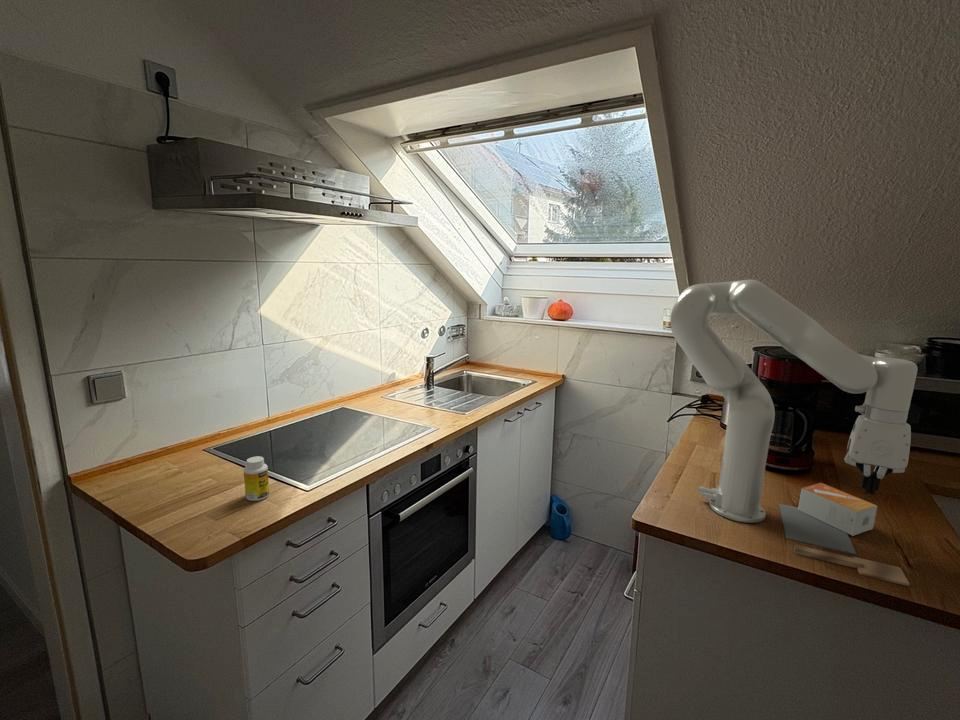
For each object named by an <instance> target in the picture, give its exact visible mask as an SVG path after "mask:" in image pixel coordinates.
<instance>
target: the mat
mask: <svg viewBox="0 0 960 720" xmlns="http://www.w3.org/2000/svg"><path fill="white" fill-rule="evenodd" d="M778 507H779V510H780V511H779V512H780V516H781V521H782V525H783V529H784V534H785V538H786V540H791V541H795V542H799V543H804V544H808V545H811V546H817V547H820V548H821V547H822V548H825V549H830V550H833V551H837V552H842V553H846V554H851V555H854V556H856V555H857V552H856V550H855V547H854V546H853V543H852V541H851V539H850V537H849V534H848V533H846V532H843V531H841V530H839V529H837V528H835V527H833V526H831V525H829V524H827V523H824V522H822V521H820V520H818V519H816V518H814V517H812V516H809V515H807V514H805V513H803V512H801V511H799V510H798V506H793V505H788V504H783V503H778Z"/></svg>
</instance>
